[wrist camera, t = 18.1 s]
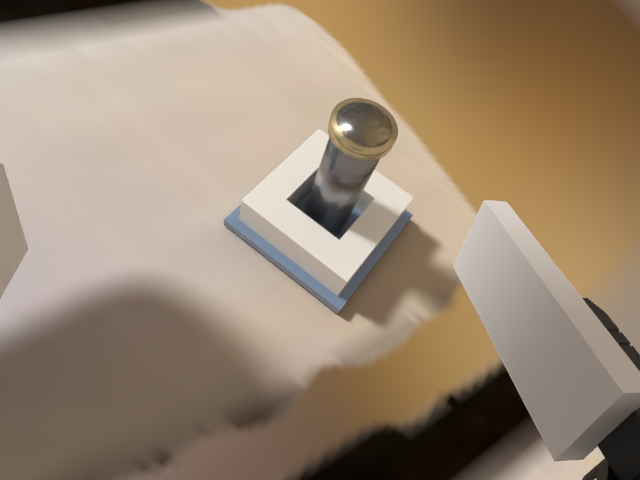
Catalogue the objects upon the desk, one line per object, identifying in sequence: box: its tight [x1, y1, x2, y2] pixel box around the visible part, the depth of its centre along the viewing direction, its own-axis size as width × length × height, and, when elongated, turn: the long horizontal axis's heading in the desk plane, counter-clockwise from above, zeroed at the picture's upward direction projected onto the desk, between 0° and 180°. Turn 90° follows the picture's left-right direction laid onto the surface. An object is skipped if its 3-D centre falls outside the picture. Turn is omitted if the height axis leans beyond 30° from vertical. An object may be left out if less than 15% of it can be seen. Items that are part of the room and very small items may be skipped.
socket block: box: [224, 129, 413, 314], centre depth 45 cm, size 14×14×4 cm
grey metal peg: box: [304, 98, 398, 236], centre depth 40 cm, size 5×5×14 cm
